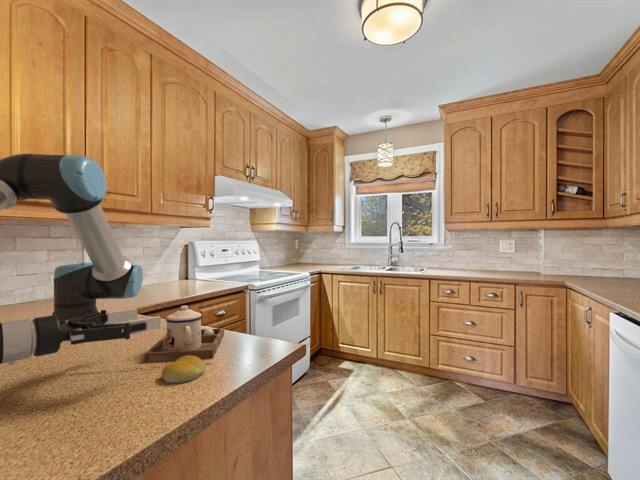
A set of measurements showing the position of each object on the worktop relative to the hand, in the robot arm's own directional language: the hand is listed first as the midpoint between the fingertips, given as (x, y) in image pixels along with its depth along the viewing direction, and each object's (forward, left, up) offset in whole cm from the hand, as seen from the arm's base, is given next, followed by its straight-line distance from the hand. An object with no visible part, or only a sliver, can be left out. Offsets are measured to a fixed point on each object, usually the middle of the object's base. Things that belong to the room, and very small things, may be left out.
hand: (147, 317), depth 78 cm
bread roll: (+8, +10, -12) cm, 18 cm away
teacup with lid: (-6, +7, -11) cm, 14 cm away
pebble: (-17, +12, -11) cm, 23 cm away
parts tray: (-10, +8, -12) cm, 17 cm away
